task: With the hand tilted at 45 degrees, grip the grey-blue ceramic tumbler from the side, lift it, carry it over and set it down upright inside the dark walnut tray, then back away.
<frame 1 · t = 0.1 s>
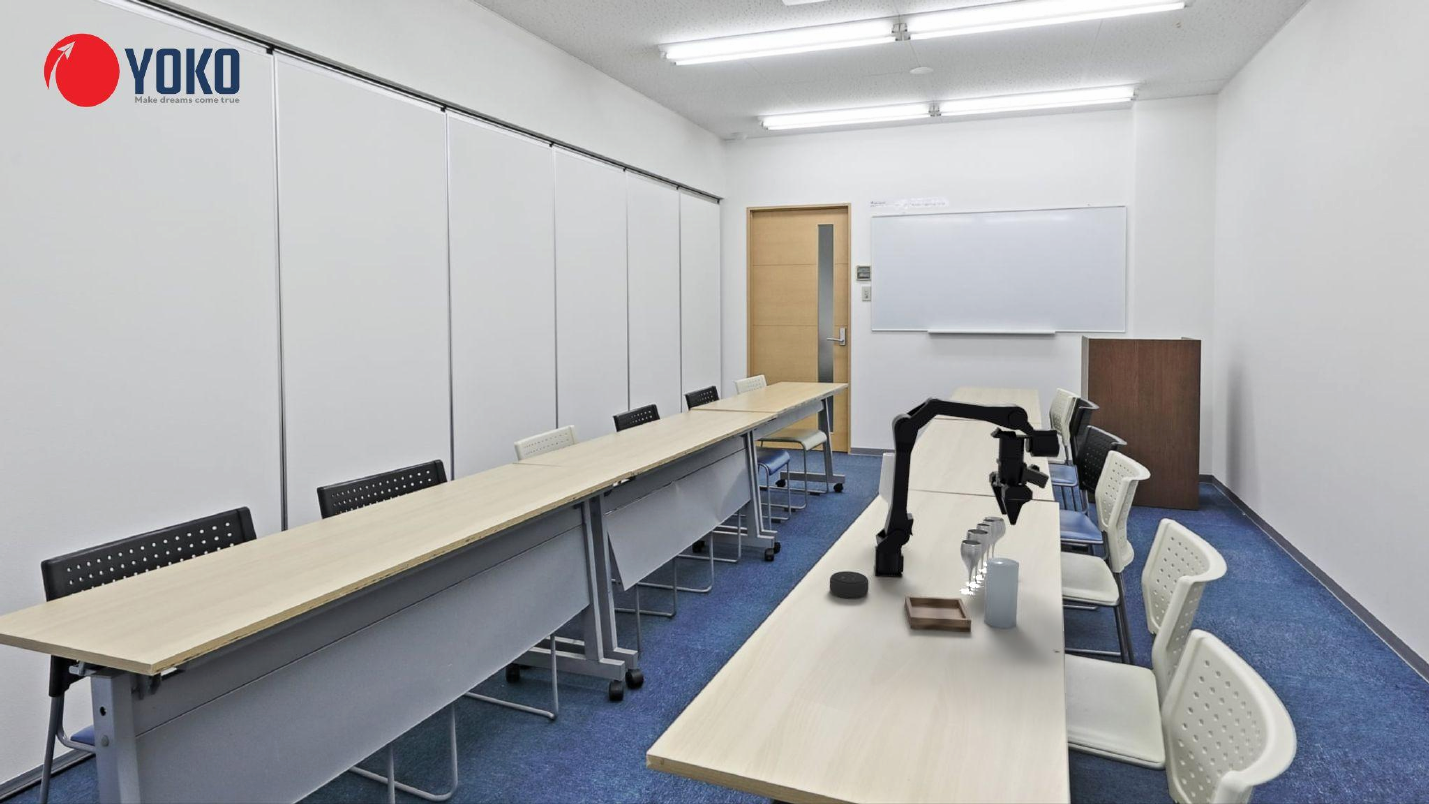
hand: (1008, 519, 188), 15 cm above the table, tool pointing down, fingers open, 9 cm apart
smart speaker: (848, 594, 180), on the table
white tapered column: (889, 536, 224), on the table
tumbler: (999, 622, 163), on the table
tray: (936, 618, 165), on the table
goblet set: (981, 578, 190), on the table
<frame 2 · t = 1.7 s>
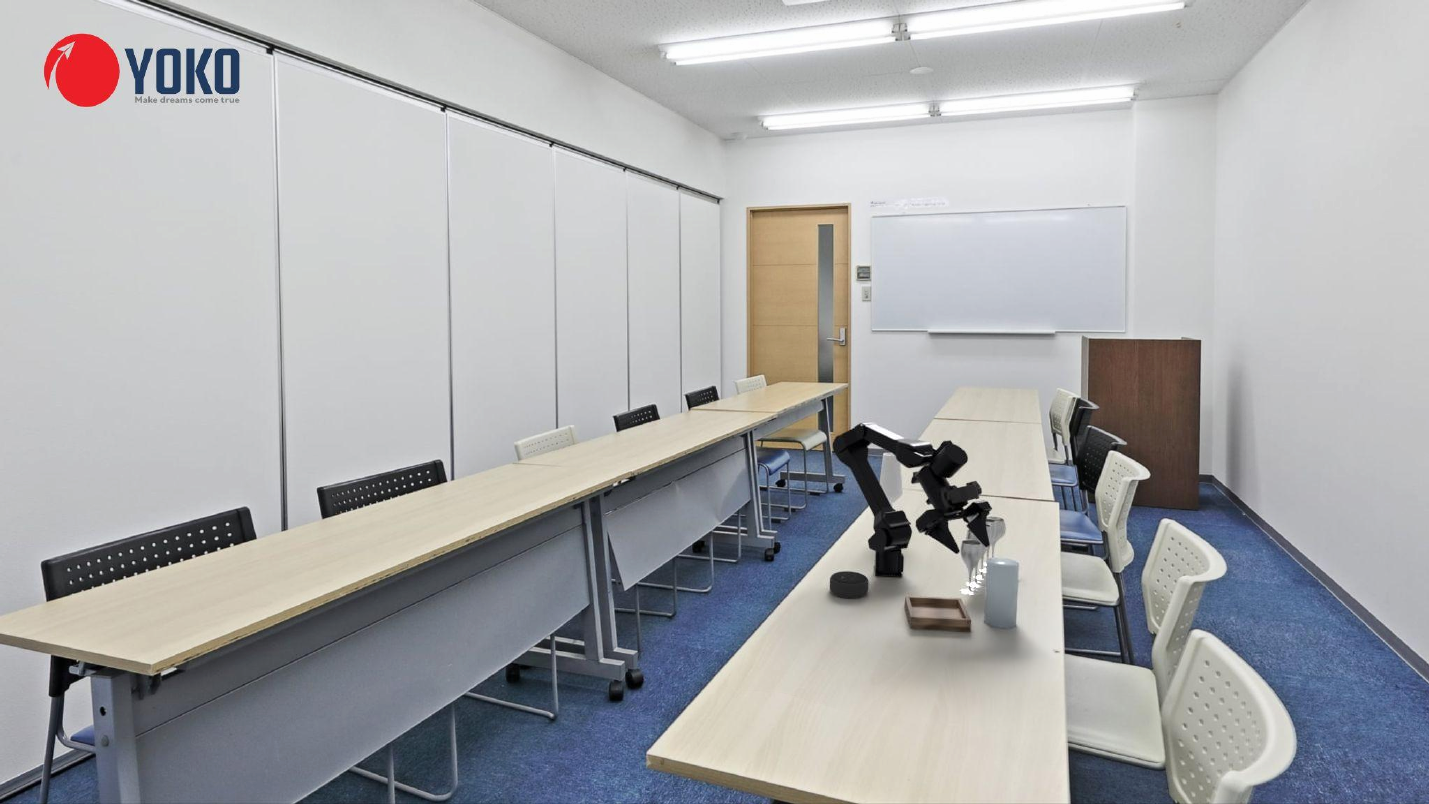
hand: (973, 549, 168), 13 cm above the table, tool tilted 45°, fingers open, 9 cm apart
nothing on the table moved.
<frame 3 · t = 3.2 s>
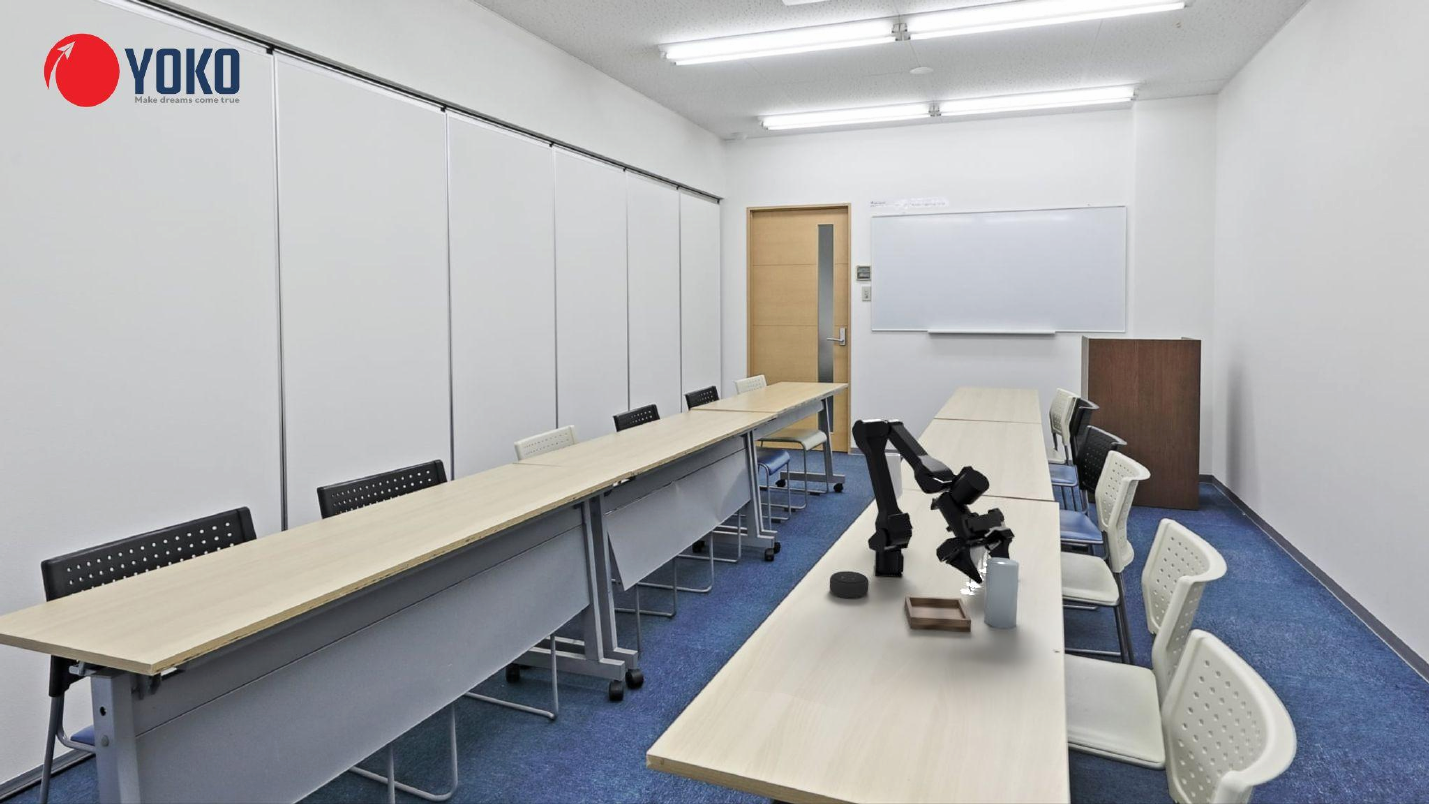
hand: (996, 579, 163), 9 cm above the table, tool tilted 45°, fingers open, 9 cm apart
nothing on the table moved.
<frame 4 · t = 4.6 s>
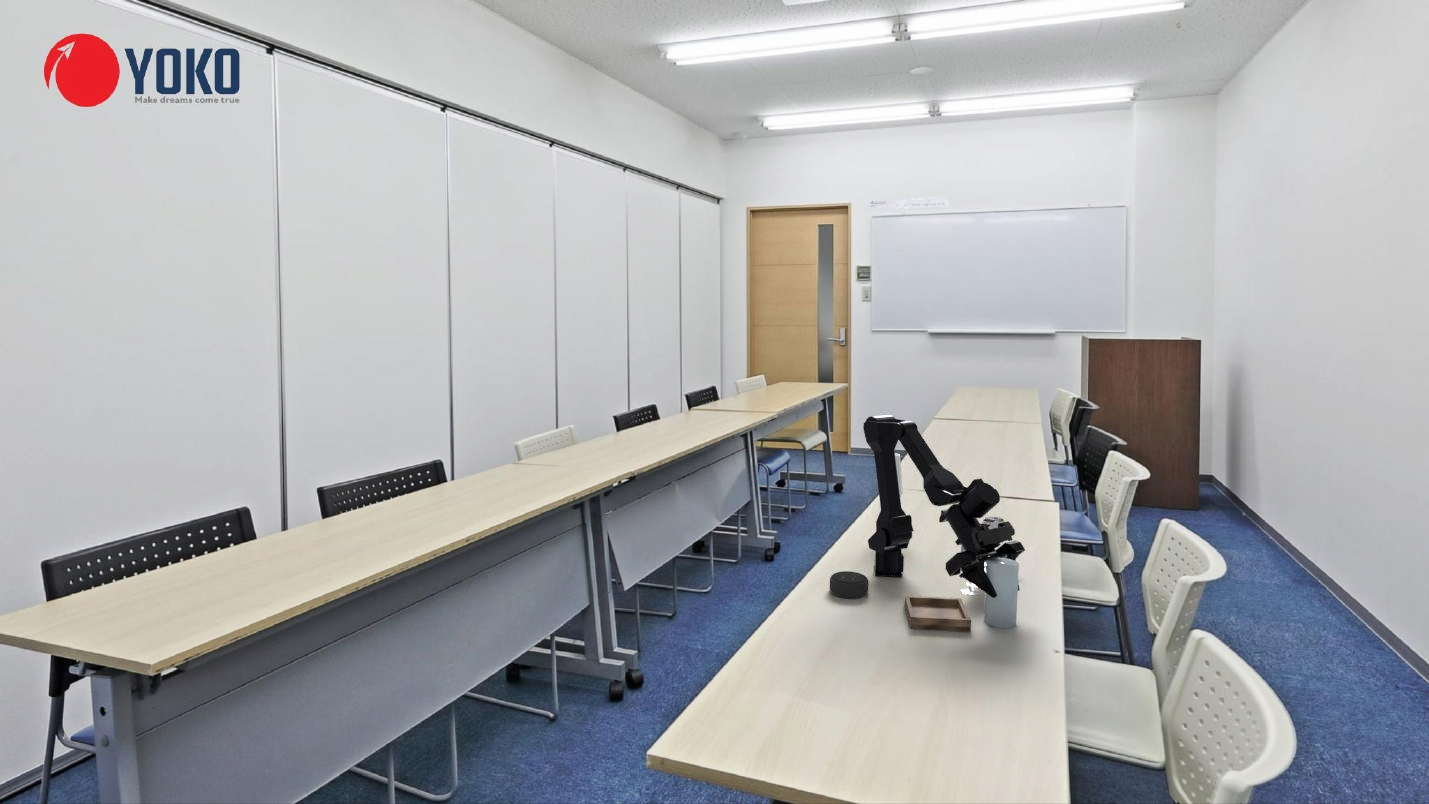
hand: (1006, 594, 161), 7 cm above the table, tool tilted 45°, fingers closed on tumbler, 6 cm apart
tumbler: (999, 622, 163), on the table, touching gripper
everything else where it was.
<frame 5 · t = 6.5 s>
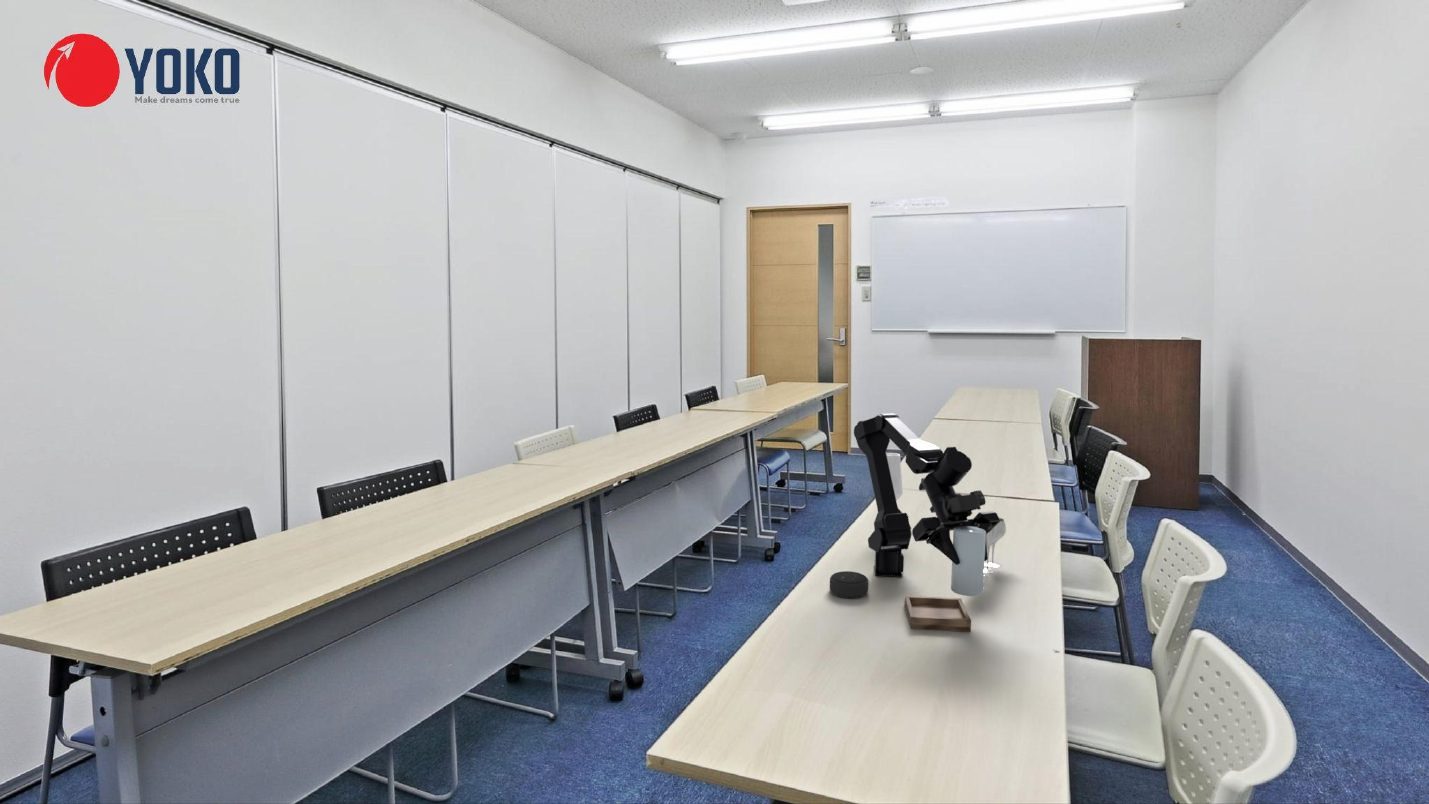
hand: (972, 562, 161), 13 cm above the table, tool tilted 45°, fingers closed on tumbler, 6 cm apart
tumbler: (966, 590, 163), point 7 cm above the table, touching gripper
everything else where it was.
when the fingers open (9 cm above the table, at t = 8.5 s): tumbler drops 1 cm, resting on tray.
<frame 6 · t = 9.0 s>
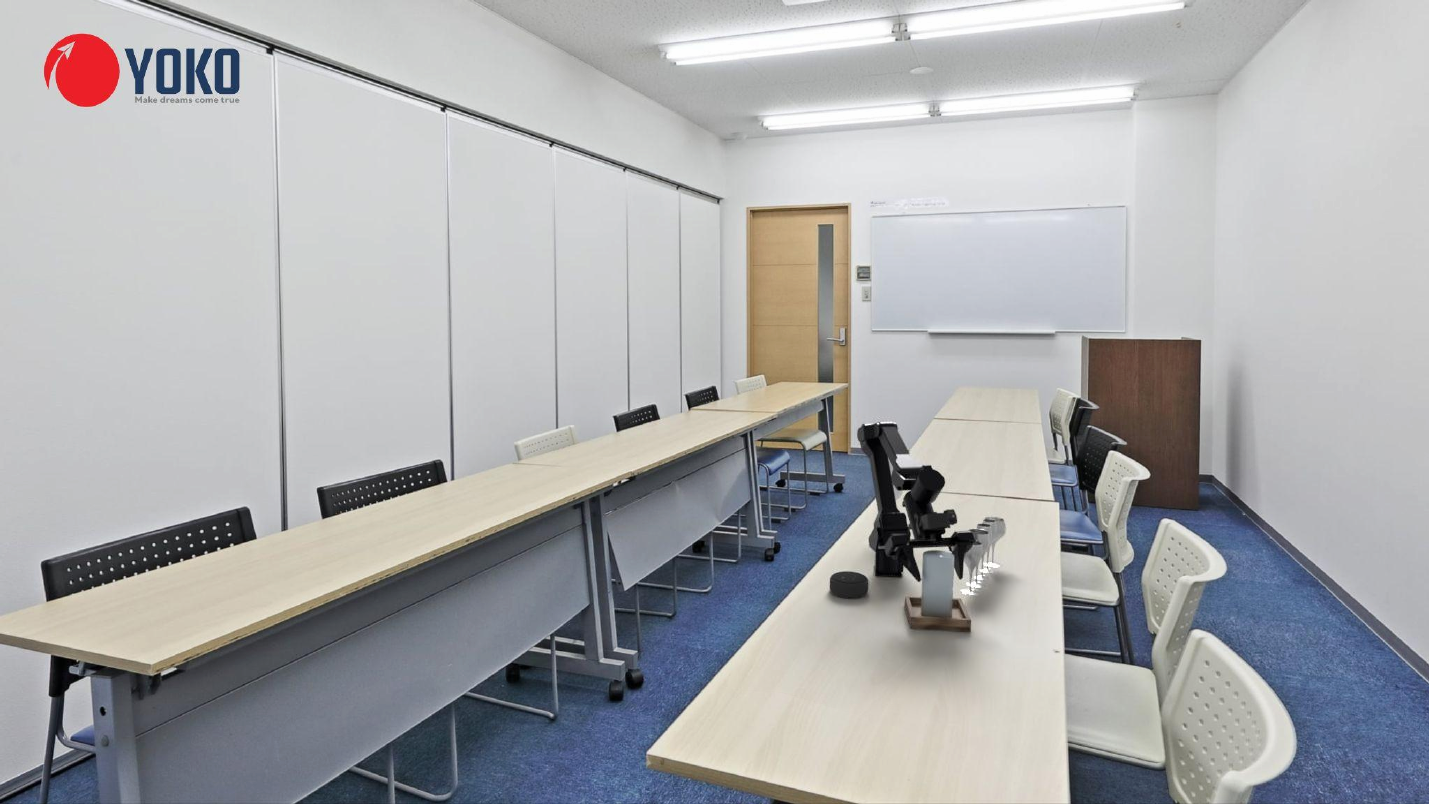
hand: (940, 580, 162), 9 cm above the table, tool tilted 45°, fingers open, 9 cm apart
tumbler: (936, 614, 165), point 1 cm above the table, touching tray
everything else where it was.
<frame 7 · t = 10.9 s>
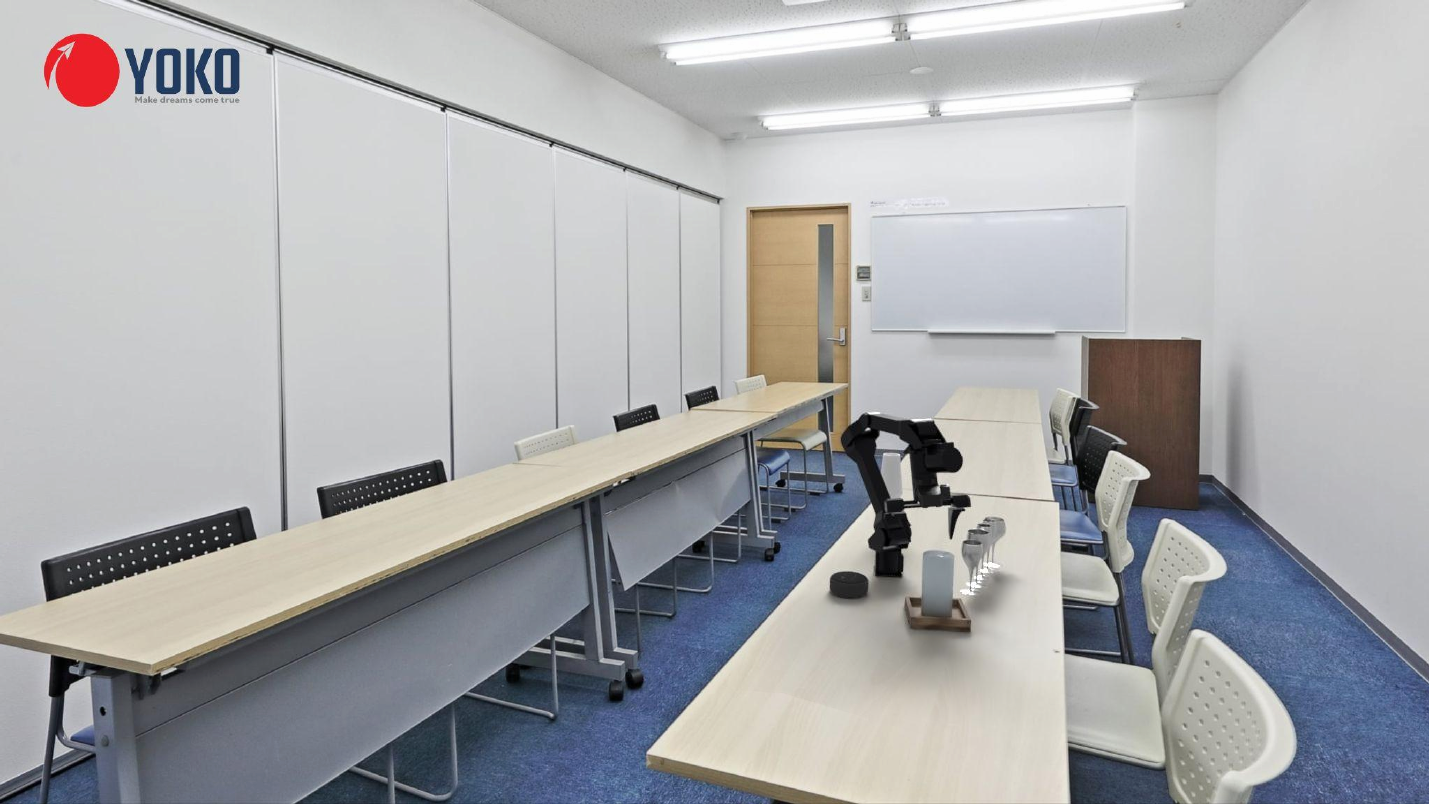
hand: (930, 540, 178), 13 cm above the table, tool pointing down, fingers open, 9 cm apart
nothing on the table moved.
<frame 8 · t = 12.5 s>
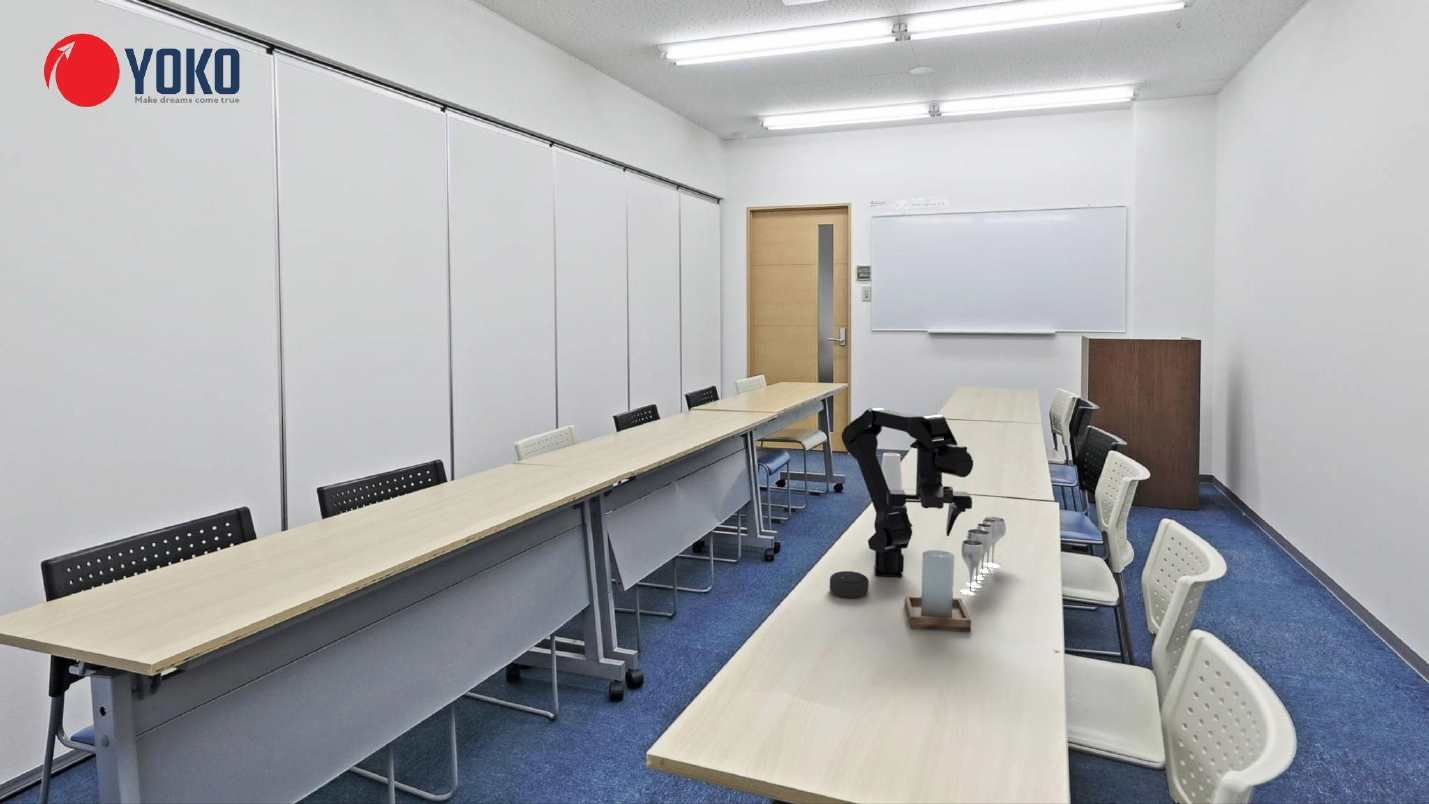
hand: (927, 534, 181), 13 cm above the table, tool pointing down, fingers open, 9 cm apart
nothing on the table moved.
at the end: tumbler inside the target area on the tray (0.1 cm from its centre), point 1.0 cm above the tray's base; tumbler tilted 0°; the gripper is holding nothing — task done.
